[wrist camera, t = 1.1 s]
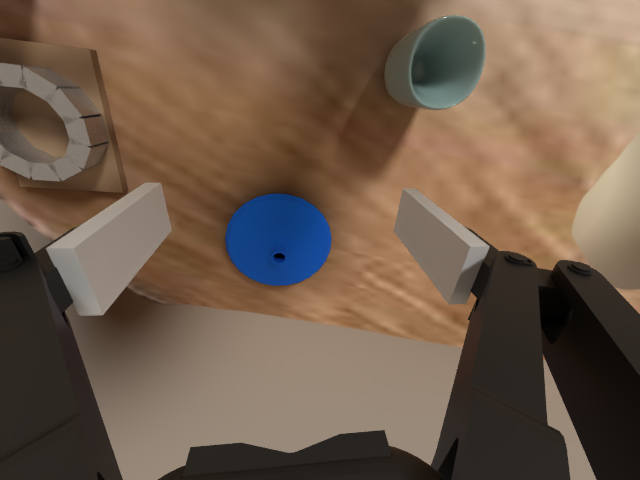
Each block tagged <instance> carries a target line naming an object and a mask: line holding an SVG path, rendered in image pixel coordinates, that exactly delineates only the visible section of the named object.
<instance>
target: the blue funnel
mask: <svg viewBox="0 0 640 480" xmlns="http://www.w3.org/2000/svg"><path fill="white" fill-rule="evenodd" d="M225 240H226V249H227V252H228V254H229V256H230V259H231V261H232V262H233V263H234V265H235V266H236V267H237V268H238V270H239V271H240V272H242V273H243V274H245V275H246V276H247V277H249V278H250V279H253V280H255V281H257V282H260V283H263V284H268V285H273V286H277V285H290V284H294V283H298V282H301V281H303V280H305V279H307V278H309V277H310V276H312V275H313V274H314V273H315V272H317V271H318V270H319V269H320V268H321V266H322V265H323V264H324V262H325V261H326V259H327V257H328V254H329V252H330V248H331V233H330V228H329V225H328V223H327V221H326V220H325V218H324V216H323V214H322V213H321V212H320V211H319V210H318V209H317V208H316V207H315V206H314V205H312V204H310V203H309V202H307V201H305V200H304V199H302V198H299V197H296V196H292V195H288V194H268V195H264V196H260V197H256V198H254V199H252V200H251V201H249V202H247V203H245V204H244V205H243V206H241V207H240V208H239V209H238V210H237V211H236V212H235V213H234V215H233V216H232V218H231V220H230V222H229V224H228V226H227V231H226V236H225Z"/></svg>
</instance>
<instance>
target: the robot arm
mask: <svg viewBox="0 0 640 480" xmlns="http://www.w3.org/2000/svg"><path fill="white" fill-rule="evenodd" d="M171 231H172V229H171V225H170V221H169V216H168V212H167V208H166V203H165V199H164V194H163V190H162V186H161V183H144V184H142V185H141V186H139V187H138V188H136V189H135V190H133V191H132V192H130V193H129V194H127V195H126V196H124V197H123V198H121V199H120V200H118V201H117V202H115V203H113V204H112V205H110V206H109V207H107V208H106V209H104V210H103V211H101V212H100V213H98V214H97V215H95V216H94V217H92V218H91V219H89V220H88V221H86V222H85V223H83V224H82V225H80V226H78V227H75V228H73V229H71V230H69V231H68V232H66V233H65V234H63V235H62V237H59V238H57V239H56V240H54V242H51V243H50V244H48V245H46V246H45V247H43V248H42V249H40V250H39V251H37V252H36V253H34V252H33V250H32V248H31V246H30V245H29V243H28V241H27V239H26V237H25V235H24V234H23V233H19V232H2V233H0V480H123V479H122V476H121V474H120V471H119V468H118V465H117V461H116V458H115V455H114V452H113V449H112V447H111V444H110V441H109V438H108V435H107V432H106V429H105V426H104V423H103V420H102V417H101V414H100V411H99V408H98V405H97V402H96V399H95V396H94V393H93V390H92V387H91V384H90V381H89V379H88V375H87V372H86V369H85V366H84V363H83V360H82V357H81V354H80V352H79V348H78V346H77V342H76V340H75V337H74V334H73V331H72V328H71V325H70V322H69V319H68V317H67V315H66V313H65V310H66V309H67V308H68V307H69V306H70V305H71V304H72V303H73V304H74V306H75V308H76V310H77V312H78V314H79V316H90V315H103V314H104V313H105V312H106V311H107V309H108V308H109V307H110V306H111V305H112V303H113V302H114V301H115V300H116V298H117V297H118V296H119V295H120V293H121V292H122V291H123V290H124V288H125V287H126V286H127V285H128V284H129V282H130V281H131V280H132V279H133V277H134V276H135V275H136V274H137V273H138V271H139V270H140V269H141V268H142V266H143V265H144V264H145V263H146V261H147V260H148V259H149V258H150V257H151V255H152V254H153V253H154V252H155V250H156V249H157V248H158V247H159V245H160V244H161V243H162V242H163V241H164V239H165V238H166V237H167V236H168V234H169V233H170V232H171ZM394 232H395V233H396V235H397V236H398V237H399V239H400V240H401V241H402V243H403V244H404V245H405V247H406V248H407V249H408V251H409V252H410V253H411V255H412V256H413V257H414V259H415V260H416V261H417V263H418V264H419V265H420V267H421V268H422V269H423V270H424V272H425V273H426V274H427V276H428V277H429V278H430V280H431V281H432V282H433V284H434V285H435V286H436V288H437V289H438V290H439V292H440V293H441V294H442V296H443V297H444V298H445V300H446V301H447V302H448V304H466V303H467V300H468V298H469V296H470V293H471V292H472V293H473V294H474V295H475V296H476V298H477V299H476V302H475V304H474V306H473V309H472V311H471V313H470V316H469V318H468V320H470V322H469V326H468V330H467V334H466V338H465V342H464V345H463V349H462V353H461V357H460V361H459V365H458V369H457V373H456V376H455V380H454V384H453V388H452V392H451V396H450V400H449V403H448V407H447V411H446V415H445V419H444V423H443V426H442V430H441V434H440V438H439V442H438V446H437V450H436V453H435V456H434V459H433V462H432V464H431V466H430V465H429V464H427V463H425V462H424V461H422V460H421V459H419V458H418V457H416V456H414V455H412V454H410V453H408V452H406V451H403V450H401V449H398V448H395V447H391V446H389V445H388V441H387V438H386V434H385V431H384V430H382V431H370V432H358V433H347V434H339V435H337V436H334V437H332V438H329V439H327V440H324V441H322V442H319V443H317V444H314V445H312V446H310V447H307V448H305V449H302V450H300V451H297V452H294V453H286V452H281V451H277V450H272V449H268V448H263V447H258V446H254V445H249V444H244V443H233V444H222V445H211V446H200V447H191V448H190V451H189V455H188V459H187V462H186V465H185V466H182V467H180V468H178V469H176V470H174V471H172V472H170V473H168V474H166V475H164V476H163V477H161V478H160V479H158V480H570V473H569V465H568V457H567V449H566V444H565V440H564V437H563V435H562V434H561V433H560V431H558V430H556V429H554V428H552V427H550V426H548V423H547V412H546V397H545V383H544V367H543V355H544V357H545V360H546V362H547V364H548V367H549V369H550V371H551V374H552V376H553V378H554V381H555V383H556V385H557V388H558V390H559V392H560V395H561V397H562V400H563V402H564V404H565V407H566V409H567V411H568V414H569V416H570V418H571V421H572V423H573V425H574V427H575V430H576V432H577V435H578V437H579V439H580V442H581V444H582V446H583V449H584V451H585V453H586V456H587V458H588V461H589V463H590V465H591V467H592V470H593V472H594V475H595V476H596V479H597V480H640V314H639V313H638V312H637V311H636V310H635V309H634V308H633V307H632V306H631V305H630V304H629V303H628V302H627V301H626V299H625V298H624V297H623V296H622V295H621V294H620V293H619V292H618V291H617V290H616V289H615V288H614V287H613V286H612V285H611V284H610V283H609V282H608V281H607V280H606V278H605V277H604V276H603V275H602V274H600V273H599V272H598V271H597V270H595V269H593V268H591V267H590V266H589V265H586V264H584V263H581V262H574V261H568V260H560V261H558V262H557V264H556V265H555V267H554V269H553V271H552V270H546V269H540V268H537V266H536V264H535V262H533V261H532V260H531V259H529V258H527V257H525V256H523V255H521V254H518V253H514V252H509V251H501V252H500V251H498V250H497V249H496V248H494V247H493V246H492V245H491V244H489V243H488V242H487V241H485V240H484V239H483V238H481V237H480V236H478V235H477V234H476V233H475V232H474V231H472V230H471V229H469V228H467V227H465V226H463V225H461V224H460V223H459V222H458V221H456V220H455V219H454V218H452V217H451V216H450V215H449V214H447V213H446V212H445V211H443V210H442V209H441V208H440V207H438V206H437V205H436V204H434V203H433V202H432V201H431V200H429V199H428V198H427V197H425V196H424V195H423V194H422V193H420V192H419V191H418V190H416V189H403V191H402V195H401V200H400V205H399V210H398V214H397V219H396V224H395V229H394Z"/></svg>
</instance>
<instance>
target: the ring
mask: <svg viewBox="0 0 640 480" xmlns="http://www.w3.org/2000/svg"><path fill="white" fill-rule="evenodd" d="M24 89H26V90H28V91H30V92H31V93H33V94H35V95H37V96H38V97H40V98H42V99H44V100H45V101H47V102H48V103H49V104H50V105H51V107H52V108H53V109H54V110H55V111H56V112H57V114H58V115H59V116H60V117H61V118H62V119H63V121H64V123H65V127H66V130H67V133H68V136H69V140H70V141H69V144H68V147H67V151H66V154H65V156H64V157H60V156H52V155H50V154H48V153H46V152H44V151H42V150H40V149H38V148H36V147H34V146H33V145H32V144H31V143H30V142H29V141H28V140H27V139H26V137H25V136H24V135H23V134H22V133H21V132H20V131H19V130H18V128H17V125H16V123H15V120H14V117H13V115H12V112H11V109H12V105H13V101H14V97H15V95H16V94H17V93H19V92H21V91H22V90H24ZM100 114H101V112H100V111H99V110H98V109H97V107H96V106H95V105H94V103H93V102H92V101H91V100H90V98H89V97H88V96H87V95H86V93H85V92H84V91H83V89H79V86H78V85H76V84H74V83H73V82H71V81H69V80H68V79H66V78H64V77H63V76H61V75H59V74H58V73H56V72H55V71H53V70H51V69H48V68H42V67H34V66H25V65H17V64H7V63H0V165H1V166H3V167H5V168H8V169H10V170H12V171H14V172H16V173H18V174H20V175H22V176H25V177H27V178H29V179H31V178H32V179H33V180H45V181H64V180H66V179H69V178H71V177H74V176H76V175H79V174H81V173H84V172H85V171H87V170H89V169H91V168H93V167H95V166H97V165H99V164H100V163H101V162H102V160H103V157H104V154H105V152H106V149H107V147H108V144H109V143H107V142H108V141H109V140H108V136H107V131H106V127H105V123H104V119H103V116H98V115H100Z"/></svg>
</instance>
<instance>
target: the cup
mask: <svg viewBox="0 0 640 480" xmlns="http://www.w3.org/2000/svg"><path fill="white" fill-rule="evenodd" d="M484 61H485V40H484V35H483V33H482V30H481V28H480V27H479V26H478V25H477V23H476V22H474V21H473V20H471V19H470V18H467V17H464V16H459V15H449V16H443V17H440V18H437V19H434V20H432V21H430V22H428V23H426V24H424V25H422V26H420V27H418V28H416V29H414V30H413V31H411V32H409V33H408V34H406V35H405V36H404V37H402V38H401V39H400V40H399V41H398V42H397V43H396V44H395V45H394V47H393V48H392V50H391V51H390V53H389V55H388V58H387V61H386V64H385V70H384V81H385V86H386V89H387V92H388V93H389V95H390V96H391V97H392V98H393V99H394V100H395V101H396V102H398V103H400V104H402V105H404V106H408V107H412V108H417V109H425V110H442V109H447V108H450V107H453V106H455V105H457V104H459V103H461V102H462V101H463V100H464V99H466V98H467V97H468V96H469V95H470V93H471V92H472V91H473V89H474V88H475V86H476V84H477V83H478V80H479V78H480V76H481V73H482V70H483V66H484Z"/></svg>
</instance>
